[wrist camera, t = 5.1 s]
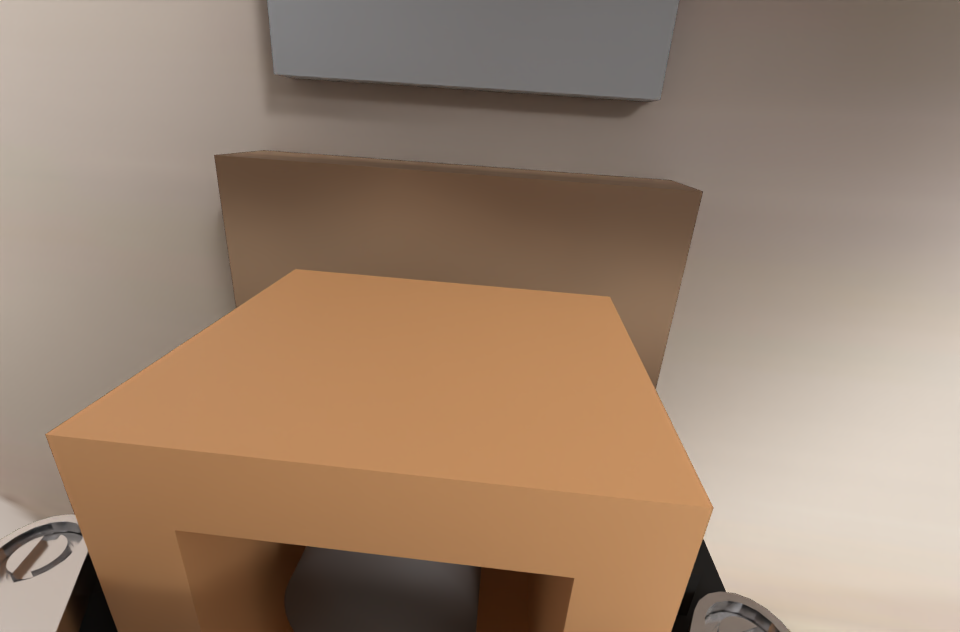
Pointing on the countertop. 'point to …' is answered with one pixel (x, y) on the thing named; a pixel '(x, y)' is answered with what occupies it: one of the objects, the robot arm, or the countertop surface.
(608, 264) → the stand
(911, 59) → the countertop surface
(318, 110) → the countertop surface
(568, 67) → the pad
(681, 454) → the collar
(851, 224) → the countertop surface
